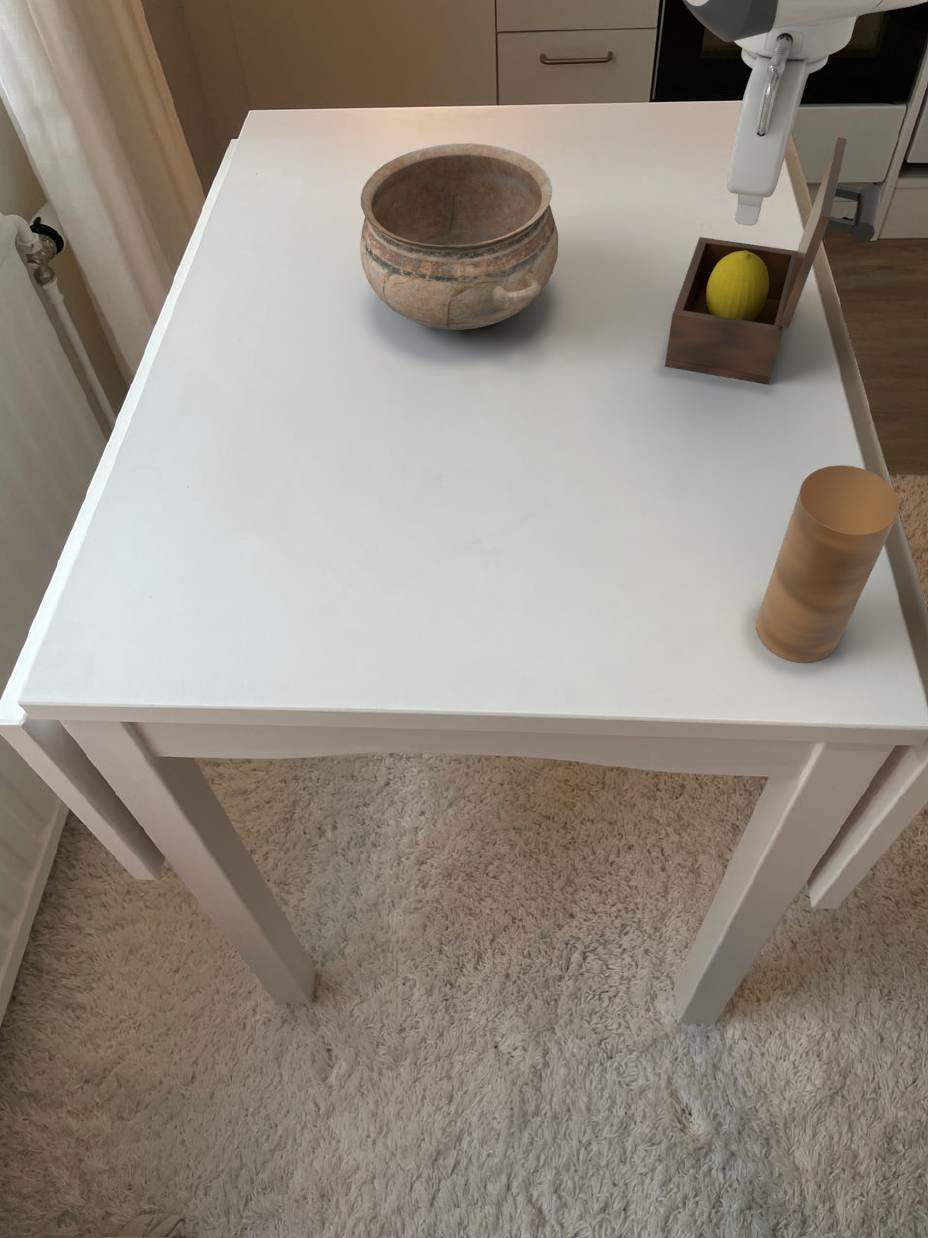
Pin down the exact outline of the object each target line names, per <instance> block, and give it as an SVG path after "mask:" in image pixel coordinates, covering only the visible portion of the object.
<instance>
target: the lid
mask: <svg viewBox="0 0 928 1238" xmlns="http://www.w3.org/2000/svg"><path fill="white" fill-rule="evenodd" d="M847 142H848V139H847V138H845V137H840V136H838V137H837V139H836V141H835V144H834V147H833V149H832V153H831V154H830V158H829V160H828V163H827V166H826V169H825V172H824V175H823V177H822V180H821V182H820V186H819V188H818V191H817V194H816V196H815V200H814V202H813V205H812V208H811V211H810V213H809V216H808V219H807V222H806V223H805V227H804V230H803V232H802V236H801V237H800V242H799V243H798V247H797V250H796V251H797V255H796V259H795V263H794V267H793V271H792V275H791V279H790V283H789V288H788V292H787V296H786V300H785V304H784V308H783V312H782V316H781V320H780V324H779V326H782V327H783V328H786V329H788V328H789V327H790V325H791V322H792V320H793V317H794V314H795V312H796V309H797V307H798V304H799V301H800V298H801V295H802V293H803V290H804V288H805V286H806V282H807V280H808V278H809V275H810V272H811V269H812V266H813V264H814V261H815V259H816V256H817V254H818V251H819V248H820V246H821V243H822V240H823V238H824V236H825V233H826V230H827V229H829V230H830V229H831V230H835V231H838V232H839V231H840V232H843V233H849V234H850V237H851V239H852V241H854V242H855V243H857V244H864V243H868V242H870V241H871V240H872V239H873V238H874V236H875V233H876V227H877V221H878V215H879V209H880V204H881V199H882V198H881V196H882V190H881V188H880V186H878V185H876V184H873V183H870V184H866V185H864V186H863V187H861V188H855V187H850V186H846V185H841V184H839V178H840V174H841V169H842V165H843V161H844V156H845V151H846V147H847ZM835 197H837V198H842V199H846V200H851V201H855V202H856V204H855V209H854V210H855V211H854V214H853V219H852V220H849V219H845V218H841V217H835V216H832V210H833V206H834V201H835Z"/></svg>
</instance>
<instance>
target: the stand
mask: <svg viewBox="0 0 928 1238" xmlns="http://www.w3.org/2000/svg"><path fill="white" fill-rule="evenodd" d="M791 512H792V513H791V514H790V519H789V521H788V524H787V527H786V530H785V533H784V536H783V539H782V542H781V545H780V548H779V551H778V554H777V558H776V561H775V563H774V566H773V569H772V571H771V576H770V579H769V581H768V584H767V588H766V591H765V593H764V596H763V599H762V602H761V606H760V609H759V612H758V614H757V617H756V623H755V627H756V632H757V635H758V637H759V639H760V641H761V643H762V644H763V645H764V646H765V647H766V648H767V649H768V650H769V651H770V652H772V653H773V654H774V655H776V656H778V657H779V658H782V659H784V660H787V661H790V662H795V663H800V664H801V663H802V664H804V663H815V662H818V661H821V660H824V659H825V658H828V657H829V656H830V655H831V654H833V652H835V650H836V649H837V647H838V645H839V643H840V641H841V638H842V636H843V635H844V632H845V629H846V628H847V626H848V623H849V621H850V619H851V617H852V615H853V612H854V610H855V609H856V607H857V604H858V602H859V599H860V597H861V595H862V593H863V591H864V589H865V586H866V585H867V583H868V580H869V578H870V576H871V574H872V572H873V569H874V567H875V565H876V564H877V561H878V559H879V557H880V555H881V552H882V550H883V548H884V546H885V544H886V541H887V539H888V537H889V535H890V533H891V531H892V528H893V526H894V524H895V522H896V520H897V518H898V516H899V512H900V501H899V498H898V495H897V493H896V492H895V489H893V487H892V486H891V485H890V483H888V482H887V481H886V480H885V479H883V478H882V477H881V476H879V475H878V474H876V473H874V472H872V471H870V470H868V469H864V468H861V467H857V466H851V465H843V464H842V465H830V466H825V467H821V468H818V469H817V470H814V471H813V472H811V473H809V475H808V476H806V477H805V478H804V480H803V482H802V483H801V486H800V489H799V491H798V495H797V498H796V501H795V503H794V507H793V509H792V511H791Z"/></svg>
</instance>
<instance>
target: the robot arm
mask: <svg viewBox="0 0 928 1238" xmlns="http://www.w3.org/2000/svg"><path fill="white" fill-rule="evenodd" d="M682 2H683V4H684V5H685V6H686V8H687V9H688V10H689V11H690V13H691V14H692V16H694V17H695V19H697V21H699V23H701V25H702V26H704V27H705V28H706V29H707V30H708V31H710V32H711V33H712V34H713V35H715V36H716V37H717V38H719V39H720V40H722V41H723V42H725V43H732V42H734V43H735V44H736V45H737V46H739V47H740V48H742V49H741V53H740V54H741V59H742V61H743V62H744V64H745V65H747V66H748V67H749V68H751V69H752V70H751V73H750V76H749V79H748V81H747V84H746V87H745V90H744V94H743V98H742V102H741V106H740V109H739V110H740V111H739V115H738V118H737V119H738V120H737V124H736V130H735V135H734V139H733V144H732V148H731V155H730V160H729V165H728V170H727V176H726V189H727V191H728V192H729V193H731V194H735V195H737V206H736V211H735V217H734V221H735V223H737V224H738V225H743V226H749V227H753V226H755V225H757V223H758V222H759V217H760V213H761V209H762V205H763V201H764V198H770V197H772V196H773V195H774V192H775V191H776V189H777V186H778V184H779V183H778V182H779V179H780V176H781V171H782V168H783V164H784V161H785V159H786V154H787V151H788V147H789V143H790V140H791V137H792V133H793V129H794V125H795V122H796V118H797V116H798V112H799V108H800V105H801V101H802V98H803V94H804V92H805V91H804V90H805V87H806V83H807V80H808V77H809V75H810V74H812V73H815V72H817V71H820V70H821V69H822V68H823V67H824V66H825V65H826V64H827V62H828V60H829V57H830V55H832V54H834V53H836V52H839V51H841V50H842V49H844V48H845V47H846V46H847V45H848V44H849V42H850V41H851V38H852V35H853V31H854V28H855V24H856V20H857V17H859V16H863V15H866V14H872V13H873V14H874V13H879V12H887V11H892V10H898V9H904V8H909V7H913V6H917V5H920V4H923V3H928V0H682Z"/></svg>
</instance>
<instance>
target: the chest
mask: <svg viewBox="0 0 928 1238" xmlns="http://www.w3.org/2000/svg"><path fill="white" fill-rule="evenodd" d="M738 251H748V252H751V253H753V254H755V255H757V256H758V257H759V258H760V259H761V260H762V261H763V262H764V264H765V265H766V268H767V271H768V277H769V290H768V295H767V299H766V302H765V305H764V307H763V309H762V311H761V312H760V313H759V315H758V316H757V317H756V318H755V319H754V320H753V321H752V322H751V321H745V320H739V319H733V318H727V317H721V316H714V315H710V314H709V312H708V308H707V305H706V290H707V284H708V281H709V278H710V276H711V273H712V272H713V270H714V268H715V266H716V265H717V263H718V262H719V261H720V260H721V259H723V258H724V257H725V256H727V255H729V254H731V253H734V252H738ZM797 251H798V250H793V249H786V248H779V247H773V246H772V247H771V246H767V245H766V246H765V245H760V244H759V245H758V244H751V243H745V242H738V241H730V240H723V239H716V238H709V237H702V236H700V237H698V240H697V243H696V246H695V248H694V251H693V252H694V253H693V254H692V258H691V260H690V263H689V266H688V268H687V271H686V275H685V278H684V280H683V284H682V286H681V289H680V291H679V294H678V298H677V300H676V303H675V306H674V309H673V311H672V315H671V323H670V329H669V336H668V341H667V348H666V356H665V362H664V367H668V368H672V369H679V370H685V371H690V372H697V373H701V374H708V375H712V376H719V377H724V378H731V379H735V380H742V381H747V382H753V383H759V384H764V385H769V384H770V380H771V376H772V373H773V369H774V365H775V363H776V357H777V353H778V350H779V346H780V343H781V338H782V335H783V330H784V327H782V326H779V324H780V320H781V316H782V312H783V308H784V304H785V300H786V296H787V292H788V288H789V283H790V279H791V275H792V271H793V267H794V263H795V259H796V255H797Z"/></svg>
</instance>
